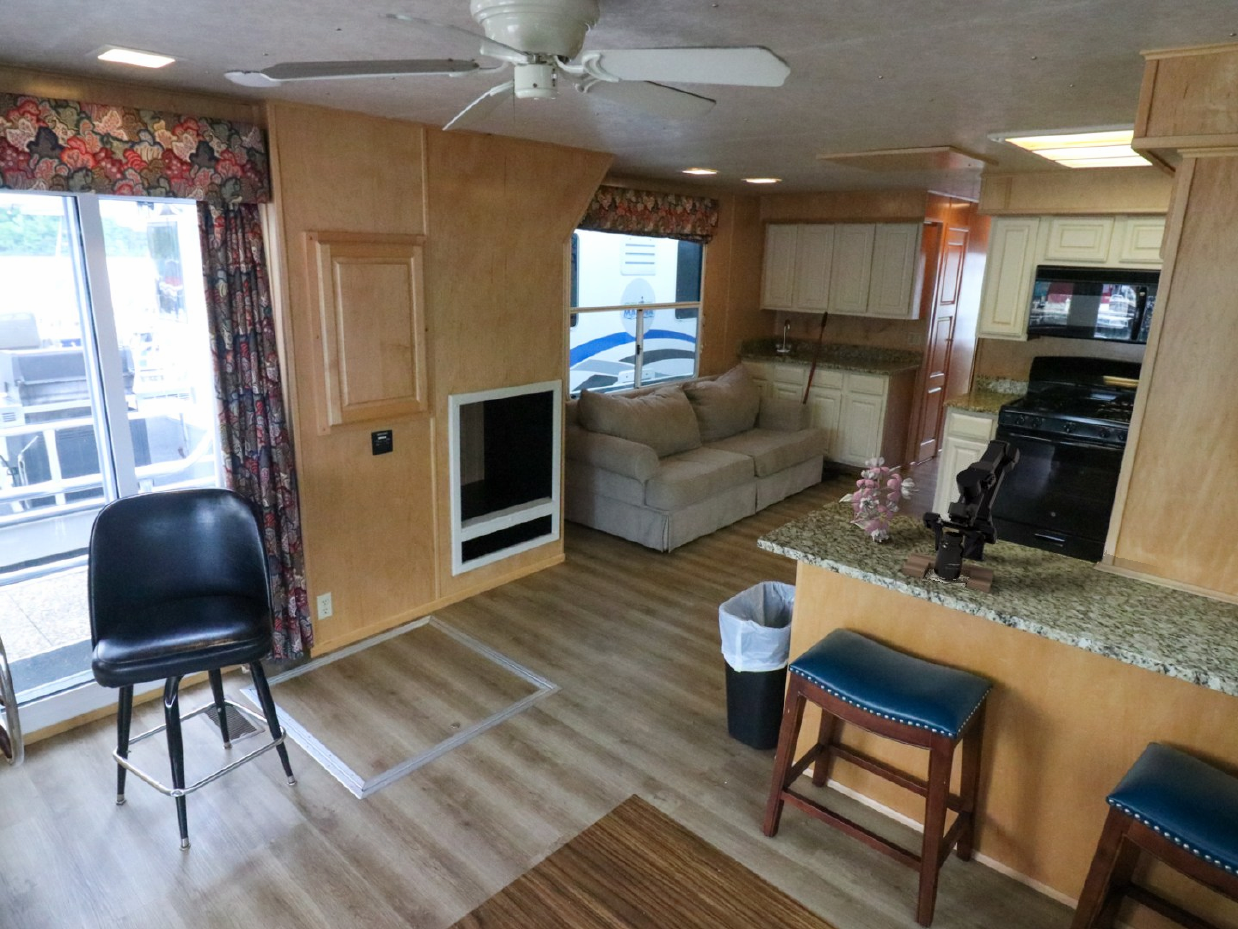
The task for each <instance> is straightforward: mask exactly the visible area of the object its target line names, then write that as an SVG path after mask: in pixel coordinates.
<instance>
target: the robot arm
mask: <svg viewBox="0 0 1238 929" xmlns="http://www.w3.org/2000/svg"><path fill="white" fill-rule="evenodd" d="M1020 453H1021V452H1020V450H1019V448H1018V447H1015V446H1014V445H1011V444H1010V442H1007V441H1005V440H1001V439H1000V440H999V439H990V440H989V442H988V443H987V448H986V450H985V452H984V453H983V454H982V456H981V457H980V459H979V460H978V461H975V462H971V463H970V464H969V465H968V466H967V468H965V469H963V470H961V471H959V472H958V473H957V474H956V476H955V481H956V486H957V489H958V490H957V491H958V493H959V494H960V495H959V496H958V499H957V501H956V502H954V501H950V502H949V505H948V506H949V507H948V510H947V514H948V519H949V520H948V519H943V518H942V517H941V513H937V512H934V511H925V512H924V513H923V515H922V522H923V524H924V528H926V529H928V530H931V532H932V533H934V551H935V552H937V549H938V544H939V543H940V542H941V541H943V537H944V533H945V532H944V530H943V529H944V528H948V529H952V530H955V531H958V533H960V534H962V535H963V542H962V543H963V546H964V547H965V549H964V551H963V554H962V558H963V559H964V558H965V559H970V560H975V561H979V562H984V560H985V556H986V554H985V552H984V551H985V547H986V544H988V545H996V543H997V538H998V533H997V528H996V527H995V526H994V524H993V520H992V519H993V518H992V512H991V509H992V507H993V504H994V502H995V499H996V496H997V494H998V492H999V489H1000V487H1001V484H1002V482H1003V479H1004V476H1005V475H1006V474H1008V473H1009V472H1011V471H1013V469H1014V468H1015V465H1016V464H1017V463H1018V462H1019V459H1020Z"/></svg>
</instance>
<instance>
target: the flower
mask: <svg viewBox="0 0 1238 929" xmlns="http://www.w3.org/2000/svg"><path fill="white" fill-rule="evenodd" d="M871 455H872V458H867V460H866V461H865V466H866V468H869V469H867V470H862V472H861V473H860V475H861V477H863V479H859V480H857V481H856V486H857V488H860V489H859V490H857V491H855V492H853V494H852V493H847V494H845V496H843V497H842V498H841V499H840V500H839V502H838V503H841V502H851V506H852V508H853V510H854V511H853V513H854V514H853V520H851V521H850V524H855V525H856V526H857V527H858V528H860V529H861V530H865V532H866V533H868V535H870V536H871V537H872V540H873V542H875V540H876V542H878V543H882V540H884V538H885V539H886V540H888V539H889V537H890V536H889V535H888V534H887V533H888V530H889V529H888V528H889V522H888V521H887V520H889V521H894V520H895V514H894V513H897V512H899V510H901V507H899V506H898V504H897V503H898V502H900V500H899V499H900V498H901V496H902V497H903V499H906V500H911V499H912V498H911V497H910V496H909V495H911V496H915V493H914V491H918V492H919V490H920V489H919V488H917V489H916V488H915V486H916V484H915V483H914V482H913V481H914V479H912V478H910V477H909V478H905V479H902V477H901V475H900V474H898V473H893V474H891V477H892V478H891V479H889V480H887V486H884V487H881V486H880V480H881V479H880V473H881V474H882V476H884V477H887V476H888V475H889V476H890V468H889V467H888V466H883V464H884V463H885V458H884V457H883V456H881V457H880V456H876V457H874V452H872V454H871ZM876 479H877V481H875V480H876ZM865 486H866V487H865ZM864 487H865V488H864ZM880 487H881V488H880ZM886 489H891V490H893V492H891V493H888V494H887V495H886V498H887V500H886V501H885V504H880V501H879V500H880V499H879V498H878V497H877V496H880V495H882V492H881V491H883V490H886ZM875 506H877V507H876V508H875ZM870 512H871V513H870ZM881 513H882V514H881ZM883 516H884V518H885V519H884V520H883V521H882V523H881V524H880V520H879V519H880V518H881V517H883ZM859 517H861V518H859Z"/></svg>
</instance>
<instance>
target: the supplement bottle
mask: <svg viewBox="0 0 1238 929" xmlns="http://www.w3.org/2000/svg"><path fill="white" fill-rule="evenodd" d="M943 533H944V535H943V537H942V540H941V542H940V543H939V544H938V549H937V551H936V556H935V557H936V560H935V566H934V573H935V574H936V575H937V576H939V577H942V578H945V579H958V578H959V577H960V574H961V569H962V564H963V563H964V558H962V554H963V551H964V549H965V547H964V546H963V544H962V543H964V536H963V535H962V534H960V533H959V532H957V531H952V530H950V531H949V530H947V531H944V532H943Z"/></svg>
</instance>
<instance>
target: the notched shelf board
mask: <svg viewBox="0 0 1238 929" xmlns="http://www.w3.org/2000/svg"><path fill="white" fill-rule="evenodd" d="M935 560H936V556H931V555H929V554H924V553H918V552H914V551H912V552H911V553H910V555H909V557H908V558H907V560H906V562H905V563H904V565H903V567H902V573H901V574H902V575H905V576H909V577H915V578H918V577H920V578H919V579H924V578H925V577H930V579H931V580H930V581H933V580H935V581H934V582H937V581H940V582H939V583H942V582H943V583H944V584H946V583H967V584H965V586H966V587H965V586H964V584H963V585H960V586H963V587H962V588H964V587H965V588H966V589H968V590H972V589H976V590H975V591H977V590H979V591H978V592H981V591H982V593H985V594H986V593H987V594H989V593H990V590H991V586H992V583H993V580H994V576H995V571H996V570H995V568H992V567H986V566H982V565H977V564H971V563H967V562H963V564H962V569H961V574H960V577H969V578H968V580H967V579H965V578H963V581H961V580H960V579H956V580H953V579H941V578H939V576H937V575H936V574H935V573H934V572H932V573H931V572H930V574H929V573H927V572H928V570H933V569H934V566H935ZM928 568H930V569H928ZM926 571H927V572H926ZM925 573H926V574H925ZM924 575H925V576H924ZM961 575H963V576H961ZM923 577H924V578H923ZM931 577H938V580H937V579H935V578H931ZM928 579H929V578H927V579H926V580H928ZM960 586H959V587H960Z"/></svg>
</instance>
